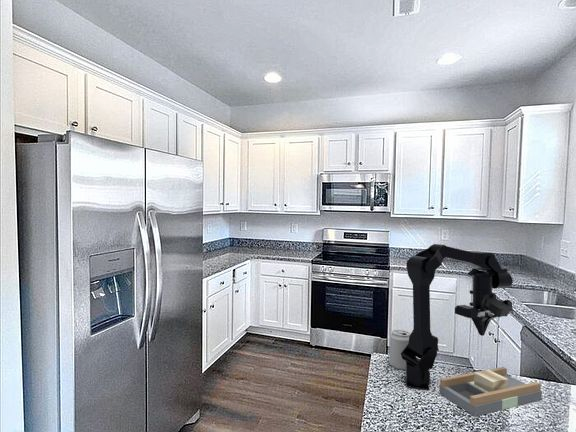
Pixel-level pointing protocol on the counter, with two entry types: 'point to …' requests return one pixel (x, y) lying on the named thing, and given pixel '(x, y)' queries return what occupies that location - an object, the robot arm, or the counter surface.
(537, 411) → the counter surface
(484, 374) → the maple block
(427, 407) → the counter surface
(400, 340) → the can
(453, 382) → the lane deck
